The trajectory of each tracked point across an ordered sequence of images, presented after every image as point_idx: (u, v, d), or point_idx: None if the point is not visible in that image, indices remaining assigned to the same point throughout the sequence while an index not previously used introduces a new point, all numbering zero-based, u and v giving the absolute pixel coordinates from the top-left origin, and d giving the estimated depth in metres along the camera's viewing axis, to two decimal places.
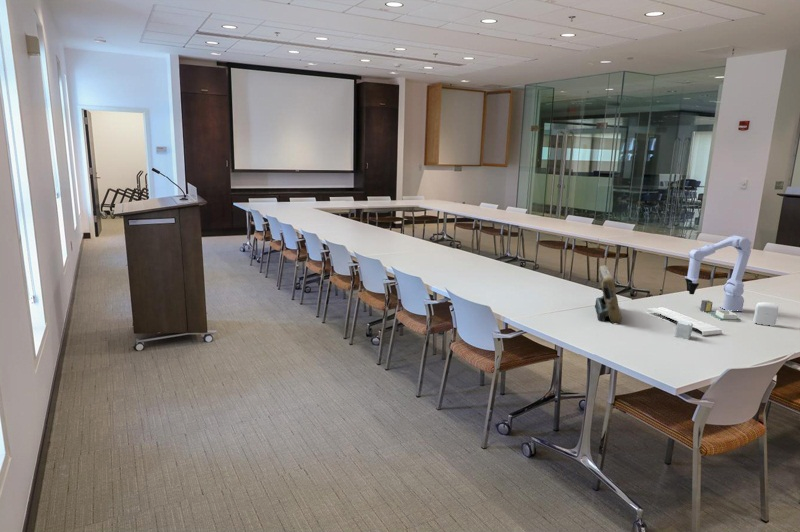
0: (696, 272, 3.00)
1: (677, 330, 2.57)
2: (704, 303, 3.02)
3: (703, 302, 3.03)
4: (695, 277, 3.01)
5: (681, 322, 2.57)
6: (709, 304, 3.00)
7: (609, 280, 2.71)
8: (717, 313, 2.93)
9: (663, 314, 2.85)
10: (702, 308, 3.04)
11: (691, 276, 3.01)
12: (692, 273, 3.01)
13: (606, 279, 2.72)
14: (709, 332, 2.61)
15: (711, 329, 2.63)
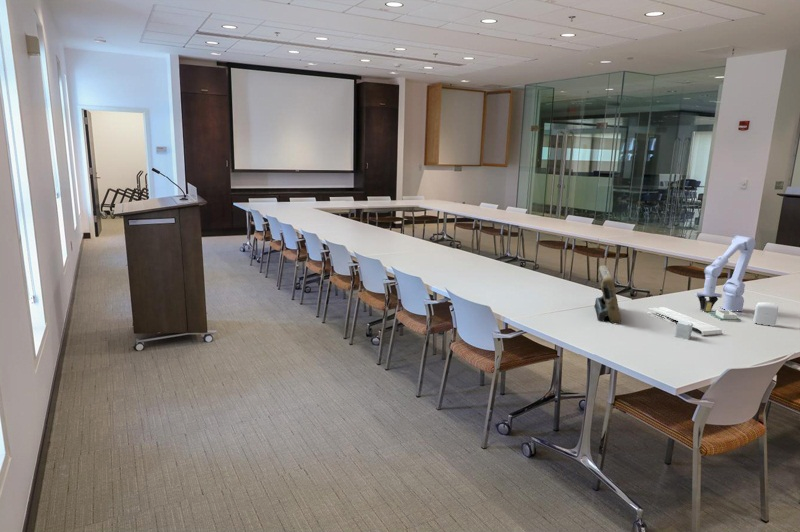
0: (706, 287, 3.00)
1: (677, 330, 2.57)
2: None
3: None
4: (705, 292, 3.01)
5: (681, 322, 2.57)
6: (709, 304, 3.00)
7: (609, 280, 2.71)
8: (717, 313, 2.93)
9: (664, 314, 2.85)
10: None
11: (703, 291, 3.03)
12: (704, 288, 3.02)
13: (606, 279, 2.72)
14: (709, 332, 2.61)
15: (711, 329, 2.63)
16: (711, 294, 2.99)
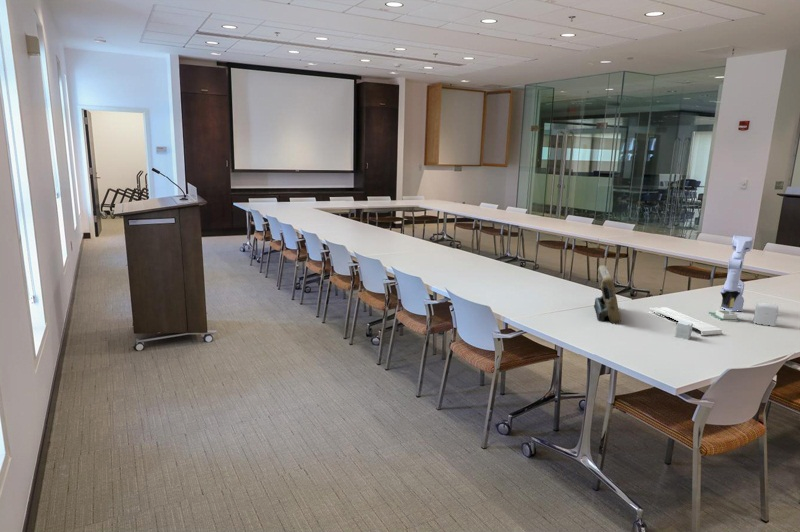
0: (730, 282, 2.85)
1: (677, 330, 2.57)
2: None
3: None
4: (729, 287, 2.85)
5: (681, 322, 2.57)
6: (732, 300, 2.87)
7: (608, 280, 2.71)
8: (717, 313, 2.93)
9: (664, 314, 2.86)
10: (724, 305, 2.89)
11: (726, 286, 2.87)
12: (727, 283, 2.86)
13: (605, 279, 2.72)
14: (708, 332, 2.61)
15: (711, 329, 2.63)
16: (736, 289, 2.85)
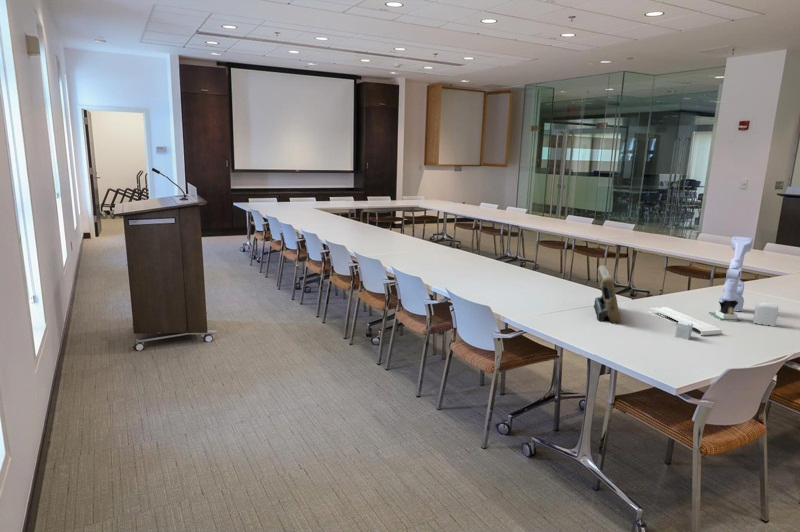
0: (729, 292, 2.86)
1: (677, 330, 2.57)
2: None
3: None
4: (727, 297, 2.87)
5: (681, 322, 2.57)
6: (731, 309, 2.88)
7: (608, 280, 2.71)
8: (717, 313, 2.93)
9: (664, 314, 2.86)
10: None
11: (724, 295, 2.88)
12: (725, 292, 2.88)
13: (605, 279, 2.72)
14: (708, 332, 2.61)
15: (711, 329, 2.63)
16: (734, 298, 2.86)
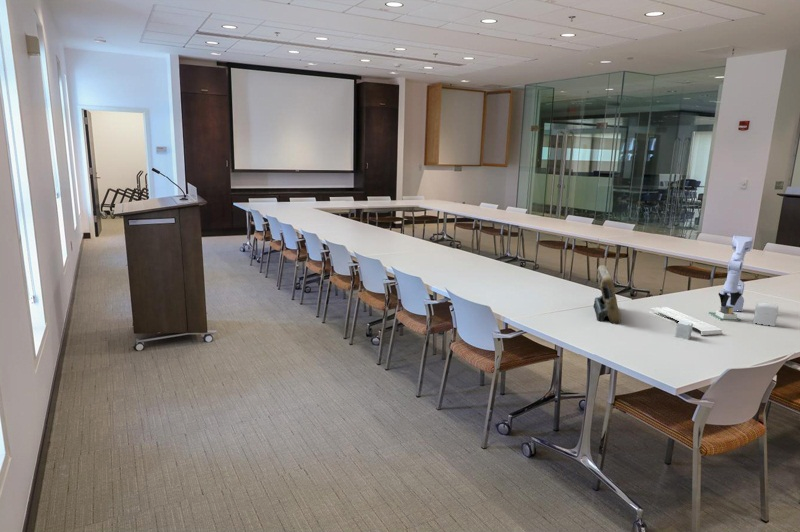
0: (730, 284, 2.85)
1: (677, 330, 2.57)
2: (726, 309, 2.88)
3: (724, 308, 2.89)
4: (729, 289, 2.86)
5: (681, 322, 2.57)
6: (731, 309, 2.88)
7: (608, 280, 2.71)
8: (717, 313, 2.93)
9: (665, 314, 2.86)
10: None
11: (725, 287, 2.87)
12: (727, 284, 2.87)
13: (605, 279, 2.72)
14: (708, 332, 2.61)
15: (711, 329, 2.63)
16: (736, 290, 2.85)
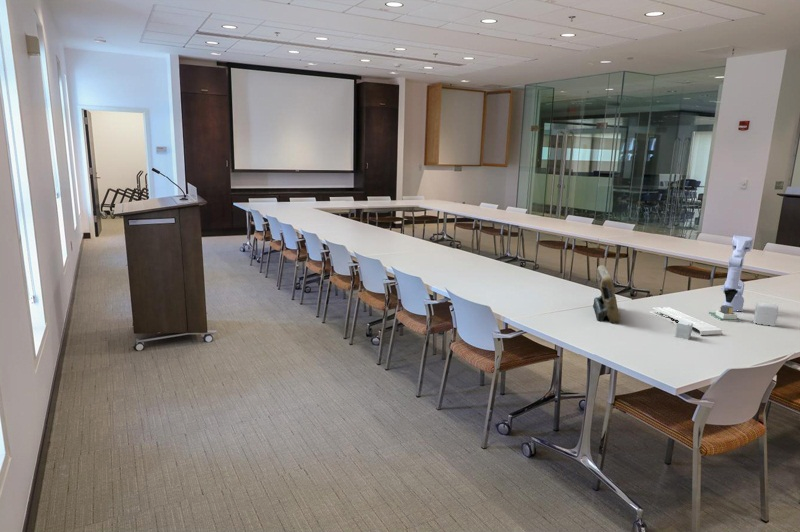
0: (731, 280, 2.84)
1: (677, 330, 2.57)
2: (726, 309, 2.88)
3: (724, 308, 2.89)
4: (730, 285, 2.85)
5: (681, 322, 2.57)
6: (731, 309, 2.88)
7: (608, 280, 2.71)
8: (717, 313, 2.93)
9: (666, 313, 2.86)
10: None
11: (726, 284, 2.87)
12: (727, 281, 2.86)
13: (605, 279, 2.72)
14: (708, 332, 2.61)
15: (710, 329, 2.63)
16: (736, 287, 2.84)
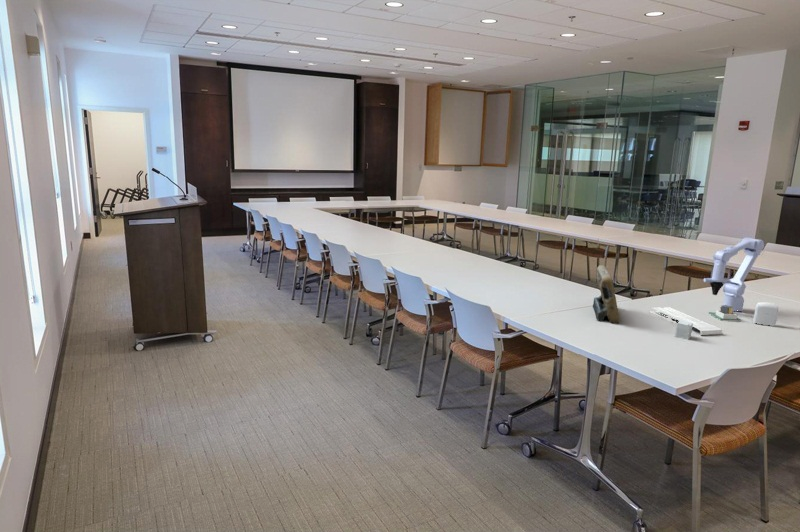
0: (714, 273, 2.97)
1: (677, 330, 2.57)
2: (726, 309, 2.88)
3: (724, 308, 2.89)
4: (713, 278, 2.98)
5: (681, 322, 2.57)
6: (731, 309, 2.88)
7: (608, 280, 2.71)
8: (717, 313, 2.93)
9: (666, 313, 2.86)
10: None
11: (712, 276, 3.00)
12: None
13: (605, 279, 2.72)
14: (708, 332, 2.61)
15: (711, 329, 2.63)
16: (720, 279, 2.96)
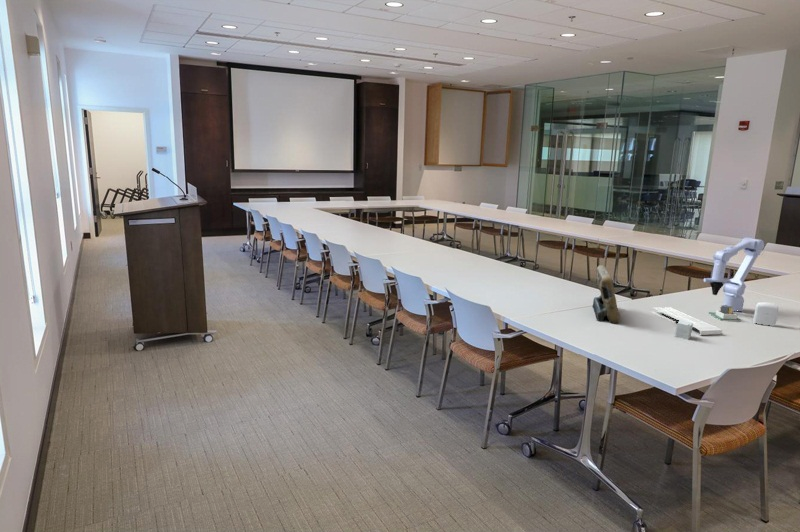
0: (714, 273, 2.97)
1: (677, 330, 2.57)
2: (726, 309, 2.88)
3: (724, 308, 2.89)
4: (713, 278, 2.98)
5: (681, 322, 2.57)
6: (731, 309, 2.88)
7: (608, 280, 2.71)
8: (717, 313, 2.93)
9: (667, 313, 2.87)
10: None
11: (712, 276, 3.00)
12: None
13: (605, 279, 2.72)
14: (708, 332, 2.61)
15: (710, 329, 2.63)
16: (720, 279, 2.96)
